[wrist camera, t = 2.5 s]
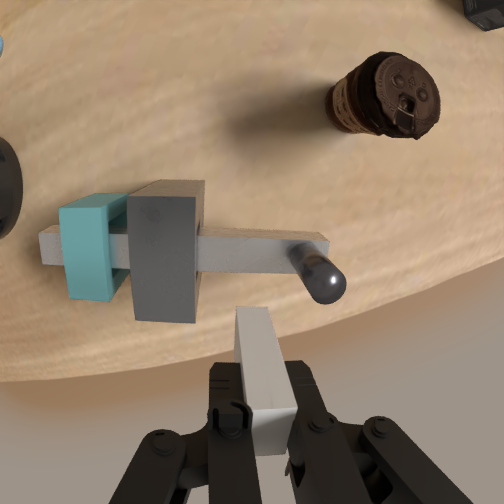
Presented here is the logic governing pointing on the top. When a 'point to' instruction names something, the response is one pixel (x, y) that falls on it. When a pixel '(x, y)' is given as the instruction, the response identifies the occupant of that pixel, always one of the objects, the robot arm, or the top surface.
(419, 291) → the top surface
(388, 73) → the coffee cup
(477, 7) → the box
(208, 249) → the shaft
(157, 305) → the bearing block
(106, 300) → the spacer
